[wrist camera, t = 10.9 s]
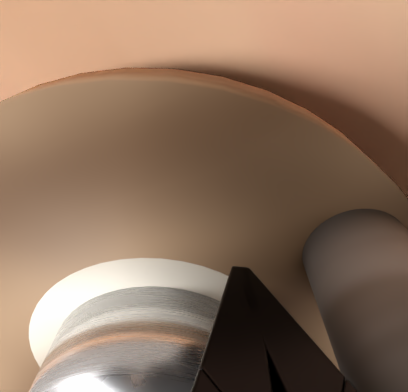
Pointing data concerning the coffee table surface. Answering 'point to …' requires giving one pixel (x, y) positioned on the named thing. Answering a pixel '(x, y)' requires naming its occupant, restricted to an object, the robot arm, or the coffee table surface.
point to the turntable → (195, 213)
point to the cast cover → (130, 343)
